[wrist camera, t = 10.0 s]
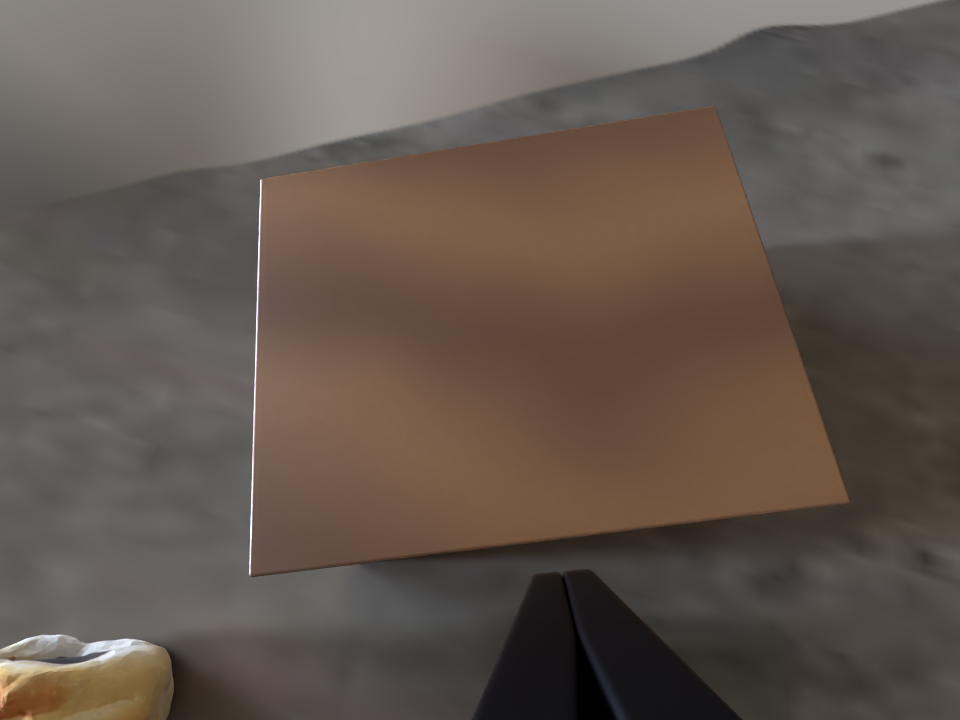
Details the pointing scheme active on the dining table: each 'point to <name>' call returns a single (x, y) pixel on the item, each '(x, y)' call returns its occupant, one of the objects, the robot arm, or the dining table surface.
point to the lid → (522, 350)
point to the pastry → (84, 680)
